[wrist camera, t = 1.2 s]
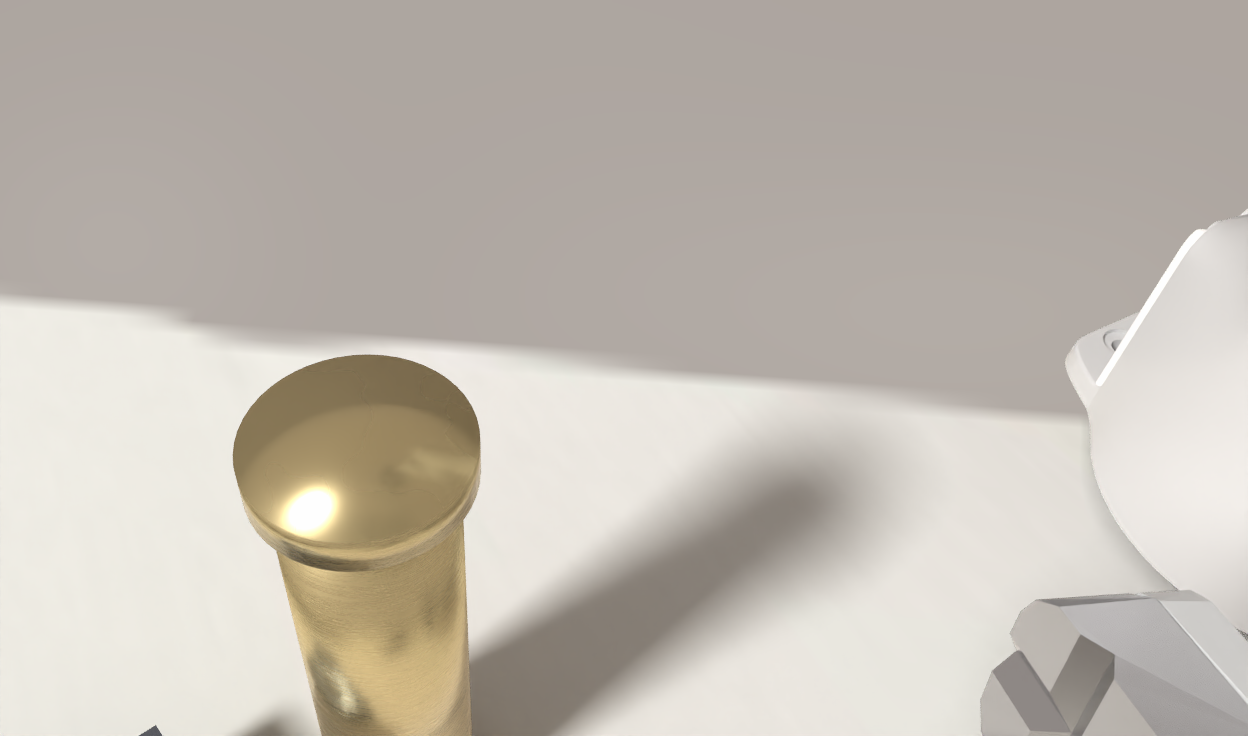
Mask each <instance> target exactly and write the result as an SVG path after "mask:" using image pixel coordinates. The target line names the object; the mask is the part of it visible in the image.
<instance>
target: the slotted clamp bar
mask: <svg viewBox="0 0 1248 736" xmlns="http://www.w3.org/2000/svg"><path fill="white" fill-rule="evenodd" d="M139 736H162V734H161V733H160V731H159V730H158V728H157V727H156V725H155V726H154V727H152V728H151V729H149V730H147V731H146V732H144V733H143V734H141V735H139Z"/></svg>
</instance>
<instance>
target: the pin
mask: <svg viewBox="0 0 1248 736" xmlns="http://www.w3.org/2000/svg"><path fill="white" fill-rule="evenodd" d="M233 466H234V471H235V475H236V479H237V483H238V487H239V490H240V494H241V498H242V502H243V505H244V509H245V512H246V514H247V516H248V519H249V521H250V523H251V524H252V526H253V527H254V529H255V530H256V532H257V533H258V534H259V535H260V536H261V538H262V539H263V540H264V541H265V542H266V543H267V544H269V545H270V546H271V547H272V548H274V549H275V550H276V551H277V555H278V559H279V563H280V567H281V572H282V576H283V580H284V584H285V588H286V592H287V596H288V600H289V604H290V608H291V612H292V616H293V621H294V625H295V629H296V633H297V637H298V641H299V645H300V649H301V653H302V657H303V661H304V665H305V670H306V674H307V678H308V682H309V686H310V690H311V694H312V698H313V702H314V706H315V710H316V714H317V719H318V723H319V727H320V731H321V735H322V736H472V722H471V697H470V673H469V648H468V623H467V599H466V574H465V550H464V525H463V520H464V518H465V517H466V515H467V514H468V512H469V510H470V509H471V507H472V505H473V502H474V500H475V498H476V496H477V492H478V488H479V484H480V475H481V456H480V431H479V425H478V421H477V417H476V415H475V413H474V410H473V408H472V406H471V404H470V403H469V401H468V400H467V398H466V397H465V395H464V394H463V393H462V392H461V391H460V390H459V389H458V387H456V386H455V385H454V384H453V383H452V382H451V381H449V380H448V379H447V378H445V377H444V376H442V375H441V374H439V373H438V372H436V371H434V370H432V369H430V368H428V367H426V366H424V365H421V364H418V363H416V362H413V361H410V360H406V359H402V358H398V357H391V356H384V355H352V356H344V357H337V358H333V359H329V360H324V361H321V362H318V363H315V364H312V365H309V366H307V367H304V368H302V369H300V370H298V371H295V372H293V373H292V374H290V375H288V376H286V377H285V378H283V379H281V380H280V381H278V382H277V383H276V384H274V385H273V386H271V387H270V388H269V389H268V390H267V391H266V392H265V393H263V394H262V395H261V396H260V397H259V398H258V399H257V401H256V402H255V403H254V404H253V405H252V406H251V408H250V409H249V411H248V412H247V414H246V415H245V417H244V418H243V420H242V422H241V424H240V427H239V429H238V431H237V435H236V438H235V442H234V449H233Z"/></svg>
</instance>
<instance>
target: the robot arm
mask: <svg viewBox="0 0 1248 736" xmlns="http://www.w3.org/2000/svg"><path fill="white" fill-rule="evenodd" d="M1065 366H1066V370H1067V373H1068V376H1069V378H1070V380H1071V382H1072V384H1073V386H1074V388H1075V390H1076V391H1077V393H1078V395H1079V397H1080V399H1081V400H1082V402H1083V404H1084V406H1085V407H1086V409H1087V413H1088V417H1089V424H1090V452H1091V461H1092V466H1093V470H1094V474H1095V477H1096V481H1097V484H1098V486H1099V489H1100V492H1101V494H1102V496H1103V498H1104V500H1105V502H1106V504H1107V507H1108V508H1109V510H1110V512H1111V514H1112V515H1113V517H1114V519H1115V520H1116V522H1117V523H1118V525H1119V526H1120V528H1121V529H1122V531H1123V532H1124V534H1125V535H1126V536H1127V538H1128V539H1129V540H1130V542H1131V543H1132V544H1133V545H1134V546H1135V548H1136V549H1137V550H1138V551H1139V552H1140V554H1141V555H1142V556H1143V557H1144V558H1145V559H1146V560H1147V561H1148V562H1149V563H1150V564H1151V565H1152V566H1153V567H1154V568H1155V569H1156V570H1157V571H1158V572H1159V573H1160V574H1161V575H1162V576H1163V577H1164V578H1165V579H1166V580H1168V581H1169V582H1170V583H1171V584H1172V585H1173V586H1175V587H1176V588H1177V589H1178V590H1179V591H1164V592H1149V593H1139V594H1135V595H1134V594H1114V595H1099V596H1084V597H1069V598H1054V599H1039V600H1035V601H1034V602H1032V603H1031V604H1030V605H1028V606H1027V607H1026V608H1024V609H1023V610H1022V611H1021V612H1020V614H1019V616H1018V618H1017V620H1016V622H1015V624H1014V626H1013V628H1012V630H1011V632H1010V635H1011V638H1012V640H1013V643H1014V645H1015V648H1016V652H1014V653H1013V654H1012V655H1011V656H1010V657H1008V658H1007V659H1006V660H1005V661H1004V662H1002V663H1001V664H1000V665H999V666H997V667H996V668H995V669H994V670H993V671H992V672H991V675H990V677H989V680H988V682H987V685H986V687H985V689H984V692H983V694H982V697H981V699H980V703H981V732H982V735H983V736H1248V641H1247V640H1246V639H1245V638H1244V637H1243V636H1242V635H1241V634H1240V633H1239V631H1238V630H1237V629H1239V630H1241V631H1243V632H1245V633H1246V634H1248V209H1247V210H1246V211H1245V212H1243V213H1242V214H1241V215H1240V216H1237V217H1233V218H1229V219H1226V220H1224V221H1222V220H1219V221H1217V222H1215V223H1213V224H1212V225H1211V226H1210V227H1209V228H1208V229H1198V230H1196V231H1194V233H1192V234H1191V235H1190V236H1189V237H1188V239H1187V240H1186V241H1185V242H1184V244H1183V245H1182V246H1181V248H1180V250H1179V251H1178V253H1177V254H1176V256H1175V257H1174V259H1173V260H1172V262H1171V264H1170V265H1169V267H1168V269H1167V270H1166V272H1165V273H1164V275H1163V276H1162V278H1161V279H1160V281H1159V282H1158V284H1157V286H1156V287H1155V289H1154V290H1153V292H1152V294H1151V295H1150V297H1149V298H1148V300H1147V301H1146V303H1145V305H1144V306H1143V308H1142V309H1141V311H1139V312H1136V313H1134V314H1132V315H1130V316H1127V317H1125V318H1123V319H1120V320H1118V321H1116V322H1114V323H1111V324H1109V325H1107V326H1105V327H1102V328H1100V329H1098V330H1096V331H1093V332H1091V333H1089V334H1086V335H1084V336H1083V337H1081V338H1080V339H1078V341H1077V342H1076V343H1075V345H1074V346H1073V347H1072V349H1071V350H1070V352H1069V353H1068V355H1067V356H1066V359H1065ZM1236 628H1237V629H1236Z"/></svg>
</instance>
